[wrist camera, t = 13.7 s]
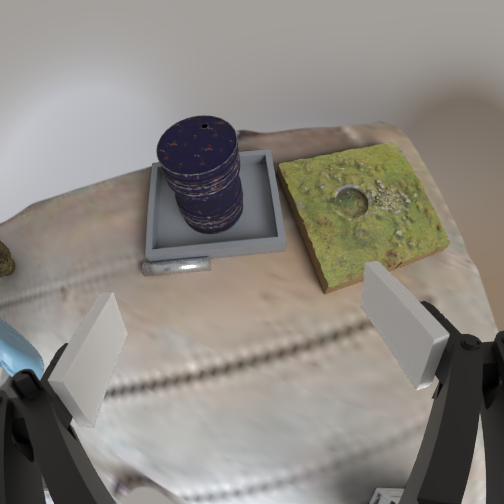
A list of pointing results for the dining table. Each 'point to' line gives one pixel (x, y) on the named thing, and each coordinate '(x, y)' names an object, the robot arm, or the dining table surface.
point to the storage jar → (203, 172)
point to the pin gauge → (176, 266)
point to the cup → (5, 261)
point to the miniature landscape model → (360, 212)
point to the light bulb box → (387, 496)
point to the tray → (228, 242)
